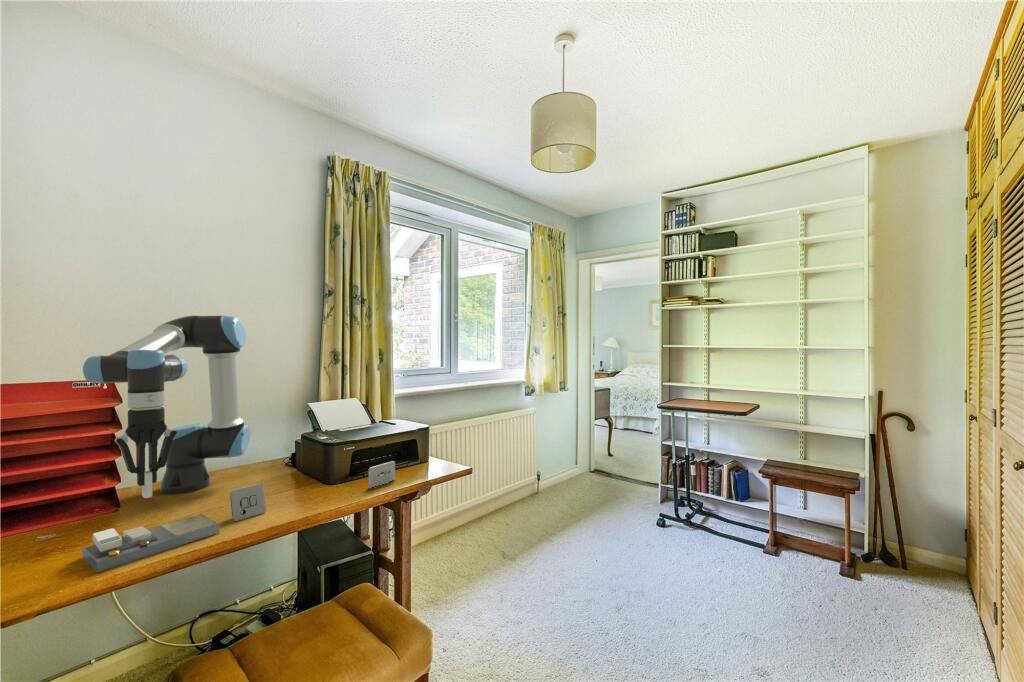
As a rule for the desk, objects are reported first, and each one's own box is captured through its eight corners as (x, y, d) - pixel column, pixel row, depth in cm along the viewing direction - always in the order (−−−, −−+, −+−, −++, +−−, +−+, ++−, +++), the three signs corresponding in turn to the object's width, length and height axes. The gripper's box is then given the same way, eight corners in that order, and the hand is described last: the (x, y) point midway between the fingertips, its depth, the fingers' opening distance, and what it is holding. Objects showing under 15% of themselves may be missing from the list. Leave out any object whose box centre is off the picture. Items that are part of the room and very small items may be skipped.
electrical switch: (233, 522, 133) (232, 491, 134) (227, 520, 136) (226, 489, 137) (266, 513, 140) (265, 483, 141) (259, 510, 144) (258, 482, 144)
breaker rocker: (92, 540, 112) (92, 533, 112) (113, 534, 115) (113, 527, 115) (100, 551, 108) (100, 544, 108) (121, 545, 111) (122, 538, 111)
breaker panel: (82, 557, 112) (82, 540, 112) (200, 522, 133) (200, 507, 133) (97, 572, 104) (97, 554, 104) (219, 533, 126) (219, 517, 126)
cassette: (392, 479, 174) (392, 460, 174) (396, 480, 173) (396, 461, 173) (367, 488, 164) (367, 467, 164) (370, 489, 163) (370, 468, 163)
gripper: (118, 412, 109) (119, 507, 109) (181, 405, 119) (181, 492, 120) (109, 409, 113) (110, 500, 113) (171, 403, 124) (171, 486, 124)
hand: (147, 496), depth 116 cm, fingers closed
